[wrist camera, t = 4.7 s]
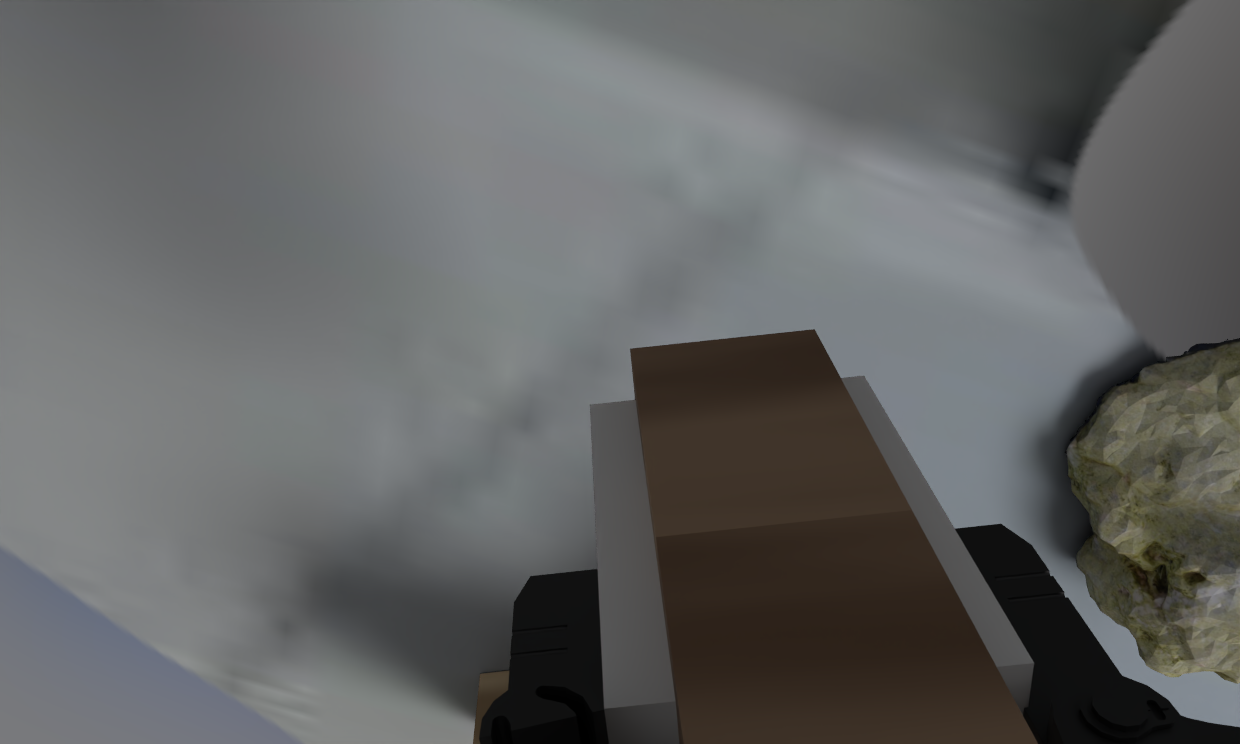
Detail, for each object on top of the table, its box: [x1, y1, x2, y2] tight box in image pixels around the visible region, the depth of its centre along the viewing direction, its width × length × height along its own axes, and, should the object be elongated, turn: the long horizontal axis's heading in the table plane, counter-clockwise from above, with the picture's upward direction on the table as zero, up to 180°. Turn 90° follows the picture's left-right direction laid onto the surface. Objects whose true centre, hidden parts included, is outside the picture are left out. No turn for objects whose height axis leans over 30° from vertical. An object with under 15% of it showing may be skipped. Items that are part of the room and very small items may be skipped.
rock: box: [1065, 338, 1240, 684], centre depth 33 cm, size 11×6×10 cm
